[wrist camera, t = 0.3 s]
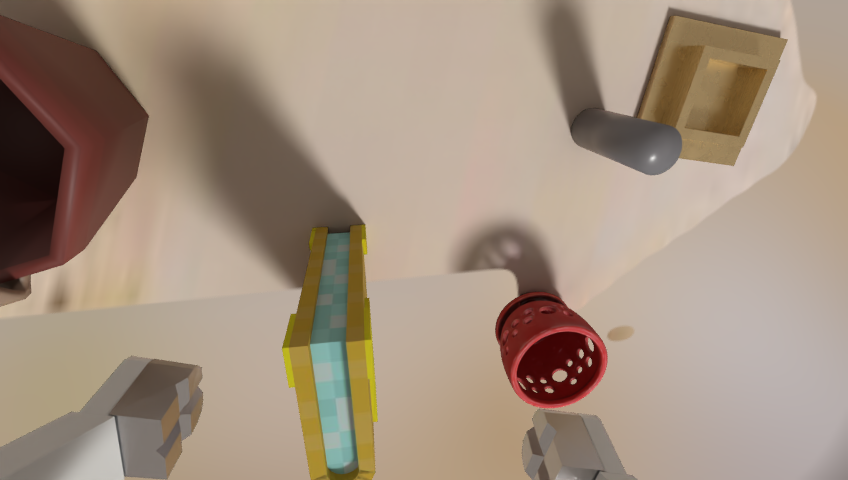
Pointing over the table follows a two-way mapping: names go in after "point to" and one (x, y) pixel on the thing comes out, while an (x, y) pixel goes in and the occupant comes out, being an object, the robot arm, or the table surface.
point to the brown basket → (58, 151)
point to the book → (334, 358)
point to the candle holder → (710, 86)
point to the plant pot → (548, 350)
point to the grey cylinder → (628, 140)
